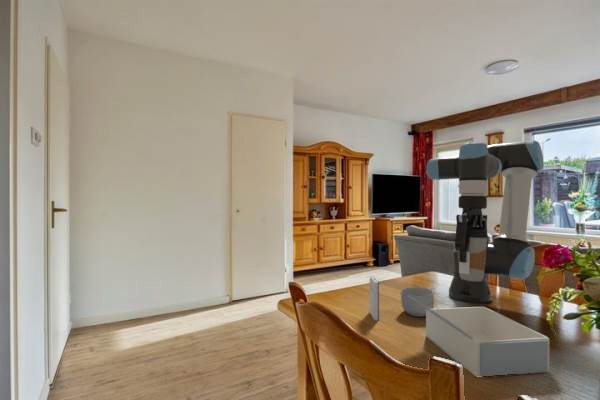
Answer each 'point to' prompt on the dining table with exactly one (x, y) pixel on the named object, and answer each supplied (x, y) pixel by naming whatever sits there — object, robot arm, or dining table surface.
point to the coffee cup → (476, 255)
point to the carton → (488, 341)
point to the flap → (440, 317)
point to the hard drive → (374, 298)
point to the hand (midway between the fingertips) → (471, 271)
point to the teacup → (420, 295)
